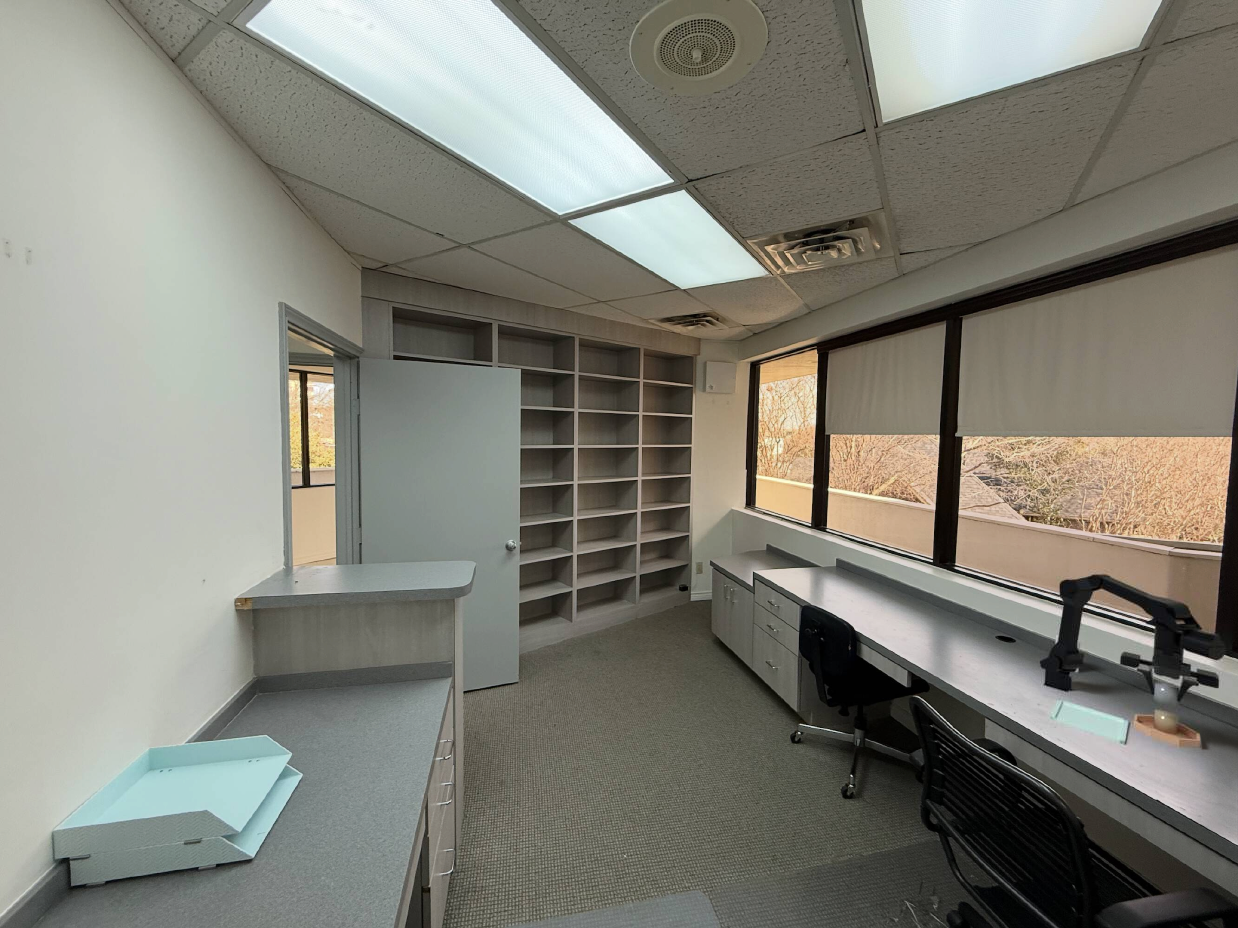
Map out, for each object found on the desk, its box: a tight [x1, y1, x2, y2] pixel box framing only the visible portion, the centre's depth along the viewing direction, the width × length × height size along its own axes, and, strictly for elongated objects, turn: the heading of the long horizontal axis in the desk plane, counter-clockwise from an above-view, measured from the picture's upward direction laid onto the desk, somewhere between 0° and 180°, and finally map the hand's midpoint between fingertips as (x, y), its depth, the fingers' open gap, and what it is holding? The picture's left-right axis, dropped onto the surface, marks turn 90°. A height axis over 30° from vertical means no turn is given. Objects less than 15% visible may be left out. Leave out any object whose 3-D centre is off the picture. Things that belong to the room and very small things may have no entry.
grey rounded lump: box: [1153, 680, 1179, 707], centre depth 140 cm, size 5×5×5 cm
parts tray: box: [1049, 698, 1130, 745], centre depth 148 cm, size 16×17×1 cm
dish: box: [1132, 713, 1201, 748], centre depth 142 cm, size 13×13×2 cm
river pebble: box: [1154, 709, 1179, 735], centre depth 144 cm, size 5×5×5 cm
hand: (1165, 697), depth 140 cm, fingers closed on grey rounded lump, 5 cm apart
